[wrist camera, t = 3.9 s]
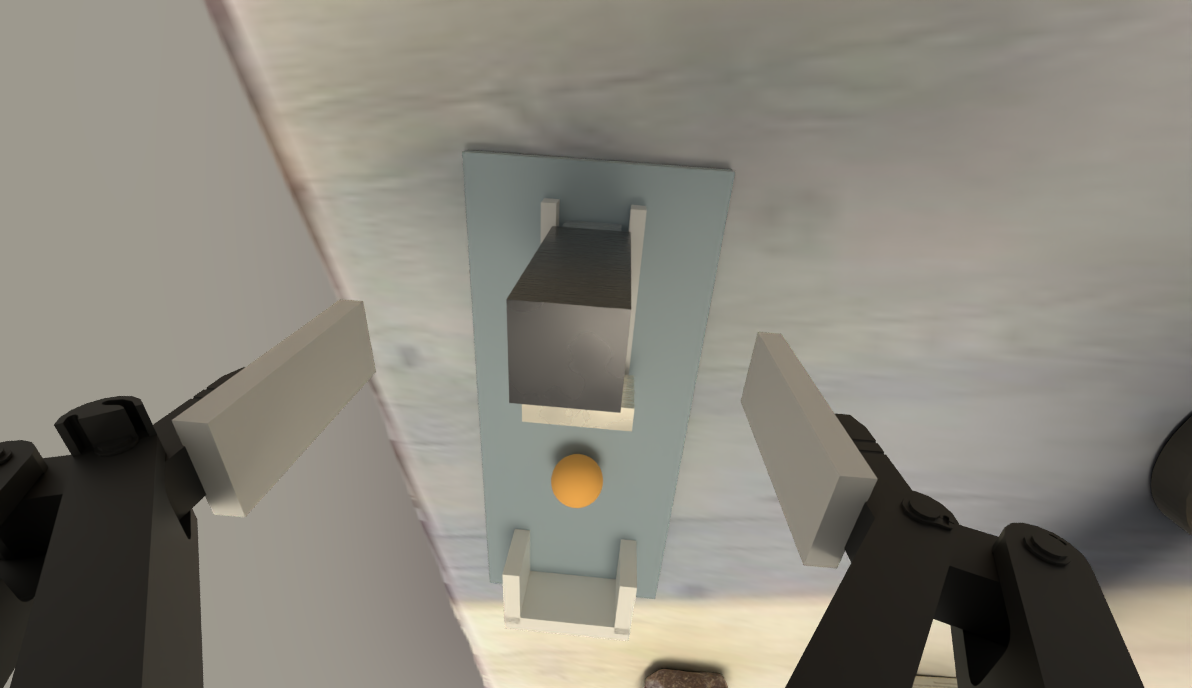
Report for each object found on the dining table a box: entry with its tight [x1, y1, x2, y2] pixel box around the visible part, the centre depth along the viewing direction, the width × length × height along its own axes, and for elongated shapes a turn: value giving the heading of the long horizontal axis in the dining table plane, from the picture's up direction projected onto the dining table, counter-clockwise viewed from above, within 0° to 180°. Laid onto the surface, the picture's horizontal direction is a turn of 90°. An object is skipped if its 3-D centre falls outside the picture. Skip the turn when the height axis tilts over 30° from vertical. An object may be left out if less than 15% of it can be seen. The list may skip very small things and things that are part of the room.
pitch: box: [462, 150, 735, 599], centre depth 32 cm, size 34×14×2 cm, turn 176°
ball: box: [551, 454, 603, 508], centre depth 32 cm, size 4×4×4 cm
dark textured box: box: [506, 220, 635, 432], centre depth 22 cm, size 10×6×12 cm, turn 176°
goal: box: [502, 529, 637, 641], centre depth 36 cm, size 6×10×4 cm, turn 86°
